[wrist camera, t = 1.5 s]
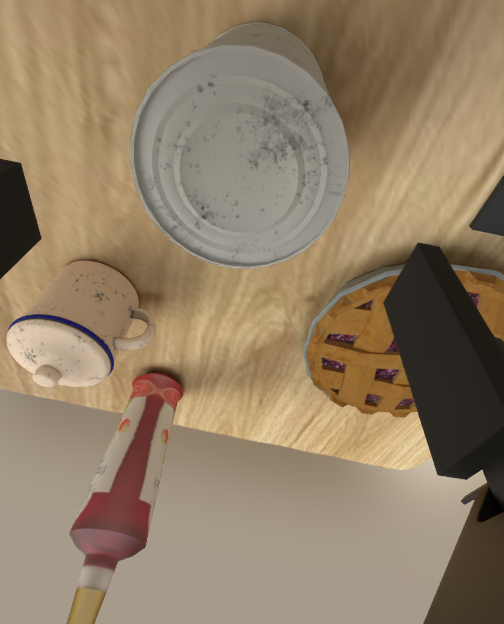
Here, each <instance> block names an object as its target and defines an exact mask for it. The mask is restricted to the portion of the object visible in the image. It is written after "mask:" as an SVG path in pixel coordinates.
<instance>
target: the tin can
mask: <svg viewBox="0 0 504 624" xmlns="http://www.w3.org/2000/svg"><path fill="white" fill-rule="evenodd" d="M130 163H131V167H132V172H133V177H134V182H135V186H136V189H137V191H138V193H139V196H140V198H141V200H142V203H143V205H144V207H145V209H146V210H147V212H148V213H149V215H150V216H151V218H152V219H153V221H154V222H155V224H156V225H157V226H158V228H159V229H160V230H161V231H162V232H163V233H164V234H165V235H166V236H167V237H168V238H169V239H170V240H171V241H172V242H174V243H175V244H176V245H178V246H179V247H181V248H182V249H184V250H185V251H187V252H188V253H190V254H191V255H193V256H196V257H198V258H200V259H202V260H204V261H207V262H209V263H212V264H216V265H220V266H224V267H228V268H243V269H252V268H260V267H268V266H271V265H274V264H277V263H281V262H284V261H287V260H289V259H291V258H292V257H294V256H296V255H298V254H299V253H301V252H303V251H305V250H306V249H307V248H308V247H310V246H311V245H312V244H313V243H314V242H315V241H316V240H318V239H319V238H320V237H321V236H322V235H323V233H324V232H325V231H326V229H327V228H328V227H329V225H330V224H331V223H332V221H333V220H334V219H335V217H336V214H337V212H338V210H339V208H340V206H341V203H342V201H343V199H344V197H345V192H346V187H347V182H348V178H349V145H348V141H347V137H346V133H345V129H344V125H343V121H342V119H341V117H340V115H339V113H338V111H337V109H336V107H335V105H334V103H333V102H332V100H331V98H330V96H329V93H328V91H327V88H326V86H325V83H324V80H323V76H322V73H321V69H320V67H319V65H318V63H317V61H316V59H315V58H314V56H313V54H312V52H311V51H310V50H309V49H308V48H307V46H306V45H305V44H304V43H303V42H302V41H301V39H300V38H298V37H297V36H295V35H294V34H292V33H291V32H289V31H288V30H286V29H285V28H282V27H279V26H276V25H273V24H270V23H259V22H249V23H246V24H242V25H238V26H234V27H232V28H230V29H229V30H227V31H225V32H224V33H222V34H220V35H219V36H217V37H216V38H215V39H214V40H213V41H212V42H211V43H210V44H208V45H207V46H205V47H204V48H202V49H200V50H197V51H194V52H192V53H190V54H189V55H187V56H185V57H184V58H182V59H180V60H179V61H177V62H175V63H174V64H172V65H170V66H169V67H168V68H167V69H166V70H165V71H164V72H163V73H162V74H161V75H160V76H159V77H158V78H157V79H156V81H155V82H154V83H153V84H152V85H151V86H150V87H149V89H148V91H147V93H146V95H145V96H144V98H143V100H142V102H141V104H140V106H139V108H138V110H137V112H136V116H135V120H134V125H133V129H132V133H131V147H130Z"/></svg>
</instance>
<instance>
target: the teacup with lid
mask: <svg viewBox="0 0 504 624" xmlns="http://www.w3.org/2000/svg"><path fill="white" fill-rule="evenodd" d="M138 306H139V300H138V295H137V293H136V290H135V289H134V287H133V286H132V284H131V283H130V282H129V281H128V280H127V278H125V277H124V276H123V275H122V274H121V273H119V272H118V271H116V270H115V269H113V268H111V267H109V266H107V265H104V264H101V263H98V262H93V261H75V262H72V263H69V264H67V265H65V266H64V267H62V268H61V269H60V271H59V272H58V273H57V274H56V275H55V277H54V278H53V279H52V280H51V282H50V283H49V284H48V285H47V286H46V288H45V289H44V290H43V291H42V292H41V294H40V295H39V296H38V297H37V299H36V300H35V301H34V302H33V303H32V305H31V306H30V307H29V308H28V310H27V311H26V312H25V313H24V314H23V316H22V317H21V318H18V319H17V320H15V321H14V322H13V323H12V324H11V325H10V327H9V329H8V333H7V346H8V349H9V351H10V353H11V355H12V356H13V357H14V359H15V360H16V361H17V362H18V363H19V364H20V365H21V366H23V367H24V368H25V369H27V370H28V371H29V372H31V373H33V379H34V381H35V382H36V383H37V384H39V385H41V386H44V387H53V386H55V385H57V384H60V385H64V386H71V387H86V386H91V385H95V384H97V383H99V382H101V381H103V380H104V379H105V378H106V377H107V376H108V375H109V374H110V373H111V372H112V370H113V367H114V359H115V357H116V355H117V353H118V351H119V349H120V350H136V349H140V348H142V347H144V346H146V345H148V344H149V343H150V342H151V341H152V340H153V338H154V336H155V333H156V324H155V320H154V318H153V316H152V315H151V314H150V313H149V312H148V311H146V310H144V309H140V308H138ZM134 318H135V319H140V320H143V321H145V322H146V323H147V324H148V327H147V329H146V331H145V332H144V333H143V334H142V335H140V336H138V337H135V338H125V336H126V334H127V332H128V329H129V327H130V325H131V323H132V321H133V319H134Z"/></svg>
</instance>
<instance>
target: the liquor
mask: <svg viewBox="0 0 504 624" xmlns="http://www.w3.org/2000/svg"><path fill="white" fill-rule="evenodd" d="M132 386H133V392H132V394H131V397H130V399H129V401H128V404H127V406H126V409H125V411H124V413H123V416H122V418H121V420H120V423H119V425H118V427H117V429H116V432H115V434H114V436H113V438H112V441H111V443H110V445H109V447H108V449H107V452H106V454H105V456H104V458H103V460H102V462H101V465H100V466H99V468H98V471H97V473H96V475H95V477H94V479H93V481H92V484H91V486H90V489H89V491H88V493H87V495H86V497H85V500H84V502H83V504H82V507H81V509H80V511H79V513H78V515H77V518H76V520H75V522H74V524H73V527H72V529H71V531H70V536H71V538H72V540H73V542H74V544H75V546H76V547H77V548H78V549H79V550H81V552H83V553H84V554H85V555H86V557H85V561H84V564H83V568H82V571H81V575H80V579H79V582H78V586H77V589H76V593H75V597H74V600H73V604H72V607H71V611H70V614H69V618H68V621H67V624H94V623H95V620H96V618H97V615H98V612H99V610H100V607H101V605H102V602H103V600H104V597H105V594H106V592H107V589H108V586H109V584H110V581H111V578H112V576H113V573H114V571H115V568H116V565H117V563H118V561H120V560H123V559H126V558H129V557H132V556H133V555H135V554H137V553H138V552H139V551H141V550H142V549H144V548H145V546H146V542H147V537H148V533H149V528H150V523H151V519H152V515H153V510H154V506H155V502H156V497H157V493H158V488H159V483H160V478H161V472H162V468H163V463H164V458H165V453H166V449H167V445H168V440H169V436H170V431H171V427H172V423H173V419H174V415H175V411H176V406H177V402H178V401H179V400H180V399H181V398H182V397H183V390H182V388H181V386H180V385H179V384H178V383H177V382H176V381H175V379H174V378H172V377H171V376H170V375H168V374H165V373H162V372H151V373H147V374H144V375H140V376H138V377H136V378H135V379H134V380H133V382H132Z"/></svg>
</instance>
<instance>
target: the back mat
mask: <svg viewBox="0 0 504 624" xmlns="http://www.w3.org/2000/svg"><path fill="white" fill-rule="evenodd" d="M470 227H471V229H472V230H477V231H482V232H487V233H492V234H497V235H501V236H504V176H503V178H502V179H501V181H500V182H499V184H498V185H497V187H496V188H495V190H494V191H493V192H492V194H491V195H490V197H489V198H488V200H487V201H486V203H485V204H484V206H483V207H482V209H481V210H480V212H479V213H478V214H477V216H476V217H475V219H474V220H473V222H472V223H471V225H470Z"/></svg>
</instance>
